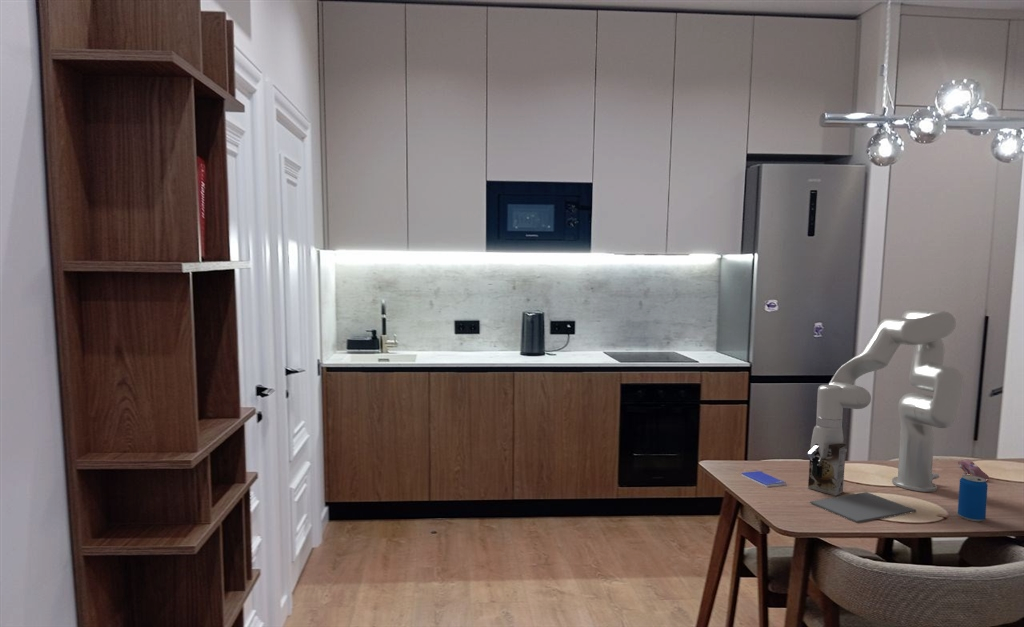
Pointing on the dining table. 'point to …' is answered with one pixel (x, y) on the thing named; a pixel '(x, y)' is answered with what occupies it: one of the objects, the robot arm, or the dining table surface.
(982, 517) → the beverage can
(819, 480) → the coffee box
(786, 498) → the dining table surface
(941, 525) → the dining table surface
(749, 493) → the dining table surface
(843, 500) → the gray mat
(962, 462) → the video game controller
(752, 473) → the hard drive
